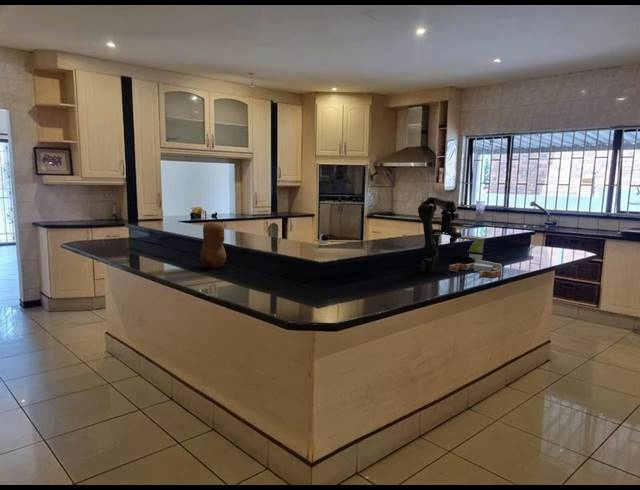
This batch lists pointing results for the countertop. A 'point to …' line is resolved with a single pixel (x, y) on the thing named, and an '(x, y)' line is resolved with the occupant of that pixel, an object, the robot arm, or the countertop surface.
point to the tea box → (475, 246)
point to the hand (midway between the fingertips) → (443, 247)
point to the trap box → (455, 267)
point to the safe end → (489, 263)
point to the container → (324, 239)
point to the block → (482, 267)
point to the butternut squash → (213, 245)
